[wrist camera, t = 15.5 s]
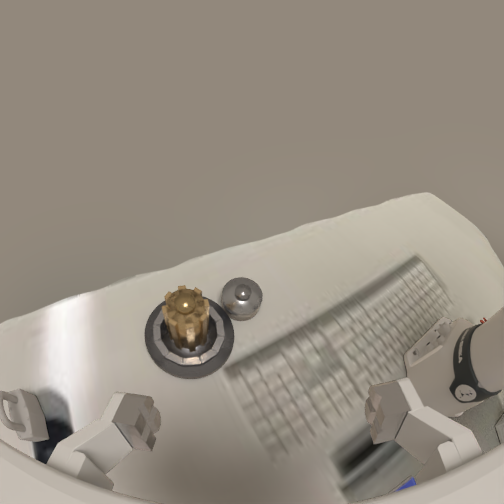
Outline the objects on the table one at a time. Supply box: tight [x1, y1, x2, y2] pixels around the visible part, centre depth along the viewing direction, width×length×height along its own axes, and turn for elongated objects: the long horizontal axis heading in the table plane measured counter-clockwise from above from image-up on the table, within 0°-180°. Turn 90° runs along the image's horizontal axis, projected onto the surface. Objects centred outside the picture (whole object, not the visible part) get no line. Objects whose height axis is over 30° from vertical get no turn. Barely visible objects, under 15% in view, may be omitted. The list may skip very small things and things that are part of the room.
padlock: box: [0, 389, 49, 442], centre depth 22 cm, size 7×4×10 cm, turn 30°
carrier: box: [145, 296, 234, 379], centre depth 39 cm, size 13×13×2 cm
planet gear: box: [162, 285, 209, 352], centre depth 35 cm, size 6×6×10 cm
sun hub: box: [221, 277, 262, 321], centre depth 43 cm, size 6×6×4 cm
